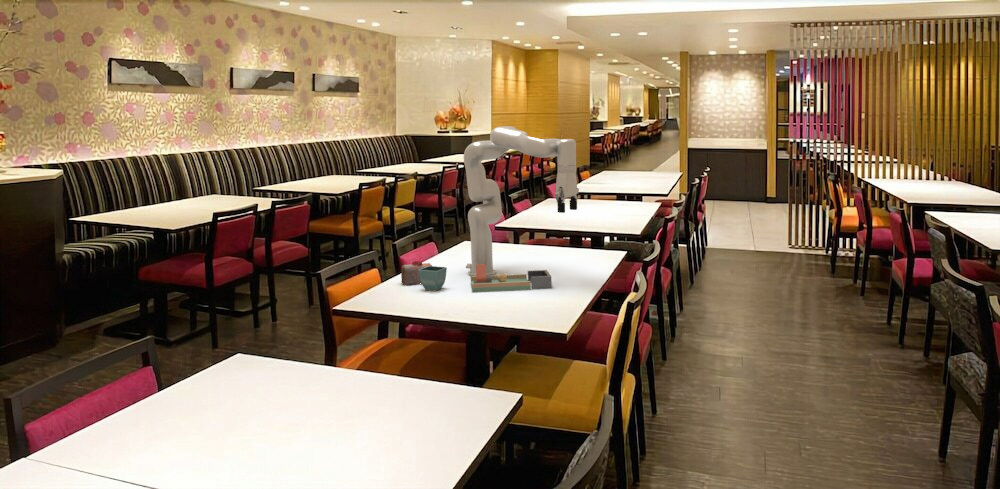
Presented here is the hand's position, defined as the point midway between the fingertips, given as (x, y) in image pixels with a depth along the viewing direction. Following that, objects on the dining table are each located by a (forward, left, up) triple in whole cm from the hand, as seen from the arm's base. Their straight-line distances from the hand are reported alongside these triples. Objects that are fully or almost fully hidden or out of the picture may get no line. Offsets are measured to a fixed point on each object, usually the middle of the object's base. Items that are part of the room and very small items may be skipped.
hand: (567, 211), depth 312 cm
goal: (-11, -7, -31) cm, 34 cm away
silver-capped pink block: (-29, -22, -29) cm, 46 cm away
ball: (-22, -16, -27) cm, 39 cm away
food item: (-59, -28, -32) cm, 73 cm away
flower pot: (-45, -34, -32) cm, 65 cm away
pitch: (-23, -17, -31) cm, 42 cm away
